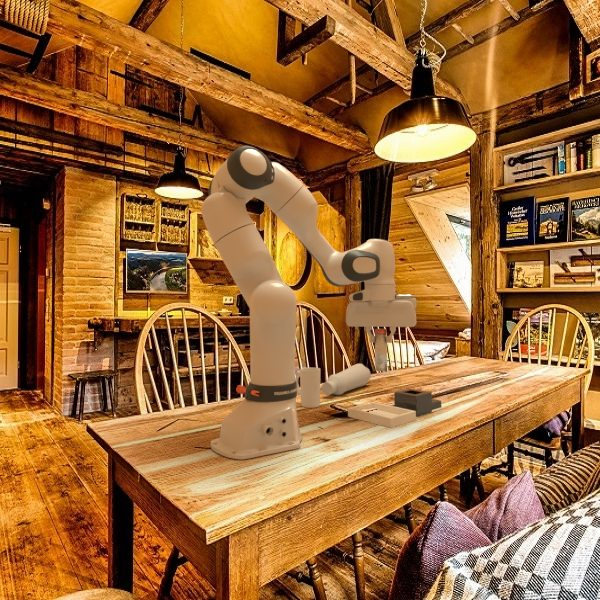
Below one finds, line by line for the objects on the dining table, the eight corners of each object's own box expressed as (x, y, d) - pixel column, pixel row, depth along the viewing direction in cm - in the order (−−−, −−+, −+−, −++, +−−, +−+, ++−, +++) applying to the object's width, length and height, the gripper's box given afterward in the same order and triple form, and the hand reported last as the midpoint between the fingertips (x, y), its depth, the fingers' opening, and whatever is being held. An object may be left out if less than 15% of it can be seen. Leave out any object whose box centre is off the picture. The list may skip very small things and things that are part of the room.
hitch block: (416, 416, 123) (416, 396, 123) (394, 411, 129) (394, 392, 129) (445, 407, 134) (445, 388, 134) (423, 403, 140) (423, 385, 140)
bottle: (348, 375, 176) (311, 390, 151) (358, 358, 173) (323, 370, 148) (365, 389, 172) (330, 407, 147) (376, 372, 169) (342, 387, 144)
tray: (391, 428, 112) (391, 418, 112) (348, 416, 124) (347, 408, 124) (416, 420, 120) (415, 411, 120) (373, 409, 132) (373, 401, 132)
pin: (378, 371, 120) (377, 329, 120) (373, 369, 123) (372, 328, 123) (389, 370, 121) (388, 329, 121) (383, 369, 124) (383, 328, 124)
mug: (324, 405, 138) (324, 368, 138) (311, 409, 133) (311, 371, 133) (302, 400, 145) (302, 366, 145) (288, 404, 140) (288, 368, 140)
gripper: (418, 294, 122) (418, 342, 121) (349, 295, 129) (350, 340, 129) (415, 294, 116) (416, 344, 115) (343, 295, 123) (344, 342, 123)
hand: (380, 342), depth 122 cm, fingers closed on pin, 3 cm apart
